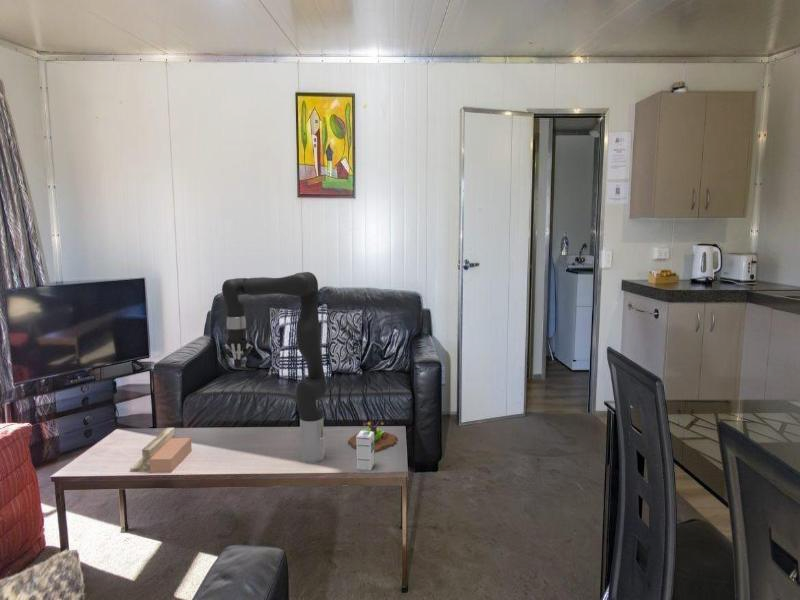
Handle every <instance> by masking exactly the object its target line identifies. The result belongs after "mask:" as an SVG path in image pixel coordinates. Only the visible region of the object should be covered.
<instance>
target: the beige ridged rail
mask: <svg viewBox="0 0 800 600" xmlns="http://www.w3.org/2000/svg"><path fill="white" fill-rule="evenodd" d="M175 435H176V434H175V427H166V428H165V429H164V430H163V431H161V432H160V433H159V434H158V435H157V436H156V437H155V438H153V439H152V440H151V441H150V442H149V443H148V444H147V445H146V446H144V447H143V448H142V449H141V451H142V452H141V453H142V456H141V458H140V459H139V460H138V461H137V462H135V464H133V465H132V466H131V467H129V471H130V472H131V473H137V472H139V473H142V472H143V473H145V472H146V473H147V472H148V471H149V472H150V461H149V459H150V458H151V457H152V456H153V455H154V454H156V453H157V452H158V451H159V450H160V449H161V448H162V447H163V446H164V445H165V444H166V443H167V442H168V441H169V440H170V439H171V438H176V436H175Z"/></svg>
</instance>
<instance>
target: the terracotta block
mask: <svg viewBox="0 0 800 600" xmlns="http://www.w3.org/2000/svg"><path fill="white" fill-rule="evenodd" d="M191 452H192V438H191V437H175V438H171V439H170V440H169V441H168V442H167V443H166V444H165V445H164V446H163V447H162V448H161V449H160V450H159V451H158V452H157V453H156V454H154V455H153V456H152V457H151V458H150V459H149V461H150V474H156V473H159V474H160V473H161V474H163V473H172V472H174V471H175V469H177V467H179V465H180V464H181V463H182V462H184V460H185V459H186V458H187V456H189V455H190V454H191Z"/></svg>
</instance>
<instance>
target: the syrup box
mask: <svg viewBox="0 0 800 600" xmlns="http://www.w3.org/2000/svg"><path fill="white" fill-rule="evenodd" d="M357 433H358V435H357V436H356V445H357V450H356V469H357V470H363V471H372V469H373V468H374V466H375V465H376V463H375V461H376V458H375V457H376V456H375V454H376V453H375V448H374V432H373V431H363V430H359V432H357Z"/></svg>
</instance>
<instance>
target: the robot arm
mask: <svg viewBox="0 0 800 600" xmlns="http://www.w3.org/2000/svg"><path fill="white" fill-rule="evenodd" d="M221 293H222V297H223V299H224V302H225V306H226V333H227V334H226V335H227V336H226V338H227V339H226V342H225V344H224V345H222V346H221V349H222V351H223V352H224V353H225V354H226V355H227V357H228V358H229V359H233V366H234V368H235V369H240V368H242V366H243V359H244V358H245V357H247V355H249V353H250V352H251V351H252V349H253V348H254V345H252V344H250V343H249V342H248V339H247V323H246V322H247V321H246V320H247V319H246V310H245V309H246V307H245V304H244V302H243V301H241V300H239V296H244V295H249V296H263V295H265V296H266V295H278V294H280V295H288V296H294V297H295V296H296V297H299V300H300V311H299V316H298V320H297V323H296V330H295V332H296V333H295V335H296V336H295V337H296V344H297V349H298V351H299V352H300V355H301V356H302V358H303V359H304V361H305V364H306V366H307V378H306V379H304V380H301V381H299V382H298V384H297V385H296V390H295V391H296V392H295V393H296V406H297V407H296V408H297V412H298V414H299V429H300V430H299V432H300V433H299V434H300V436H299V439H300V460H301V462H304V463H307V462H308V463H307V464H312V463H313V462H314V463H319V462H324V459H325V454H326V452H325V450H326V447H325V433H324V411H323V409H322V408H320V407H317V401H318V400H319V399H322V398H323V397H324V396H325V394H326V392H327V381H326V375H325V370H324V364H323V356H322V355H323V354H322V347H321V346H322V345H321V331H320V321H319V307H318V305H319V304H318V303H319V281H318V279H317V277H316V275H315V274H314V273H313V272H311V271H302V272H296V273H294V274H291V275H288V276H282V277H262V276H261V277H251V278H247V277H239V278H238V277H237V278H231V279H225V281H224V282H223V283H222V286H221ZM244 349H246V350H245V351H244ZM243 351H244V353H243ZM318 461H319V462H318ZM314 463H313V464H314Z"/></svg>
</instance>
